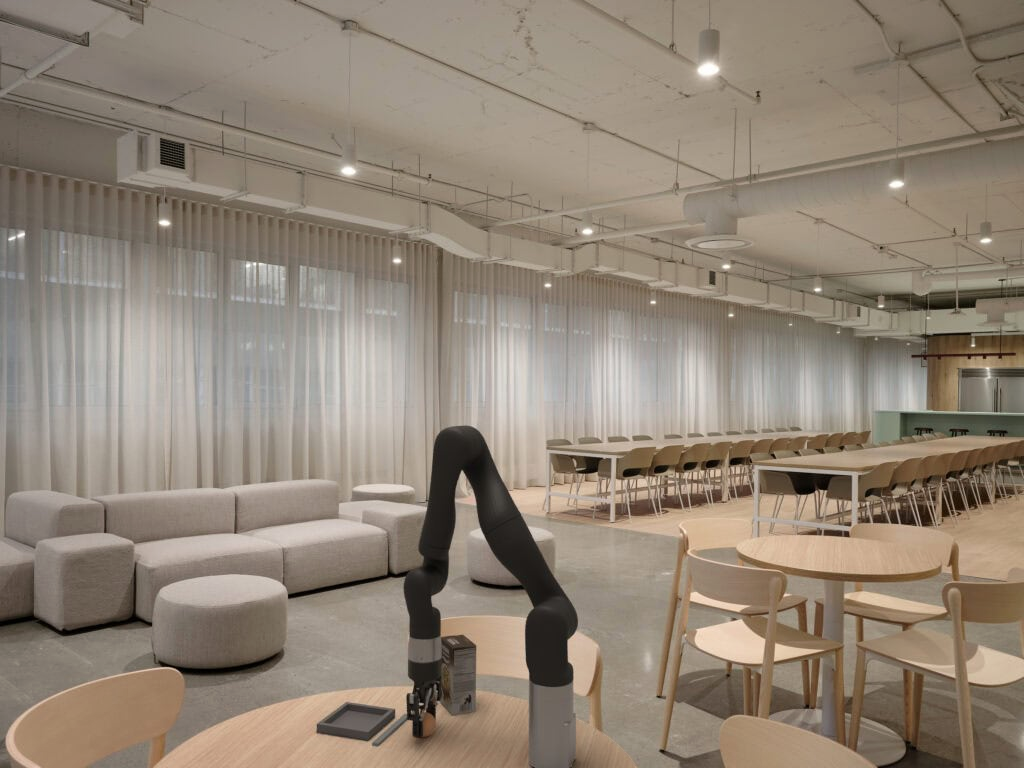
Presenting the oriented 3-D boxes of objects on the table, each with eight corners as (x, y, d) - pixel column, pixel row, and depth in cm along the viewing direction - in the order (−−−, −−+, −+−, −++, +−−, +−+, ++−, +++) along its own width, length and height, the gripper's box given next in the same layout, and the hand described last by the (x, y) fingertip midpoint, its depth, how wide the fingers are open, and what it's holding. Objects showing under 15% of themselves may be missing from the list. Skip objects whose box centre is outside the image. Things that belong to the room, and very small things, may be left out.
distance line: (410, 716, 182) (410, 714, 182) (378, 746, 167) (378, 743, 167) (404, 715, 182) (404, 713, 182) (372, 745, 167) (372, 742, 167)
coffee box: (438, 702, 191) (439, 636, 191) (462, 697, 193) (463, 633, 194) (451, 716, 182) (451, 647, 183) (476, 711, 185) (477, 644, 185)
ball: (439, 732, 174) (439, 710, 174) (430, 742, 169) (430, 719, 169) (419, 729, 175) (419, 707, 175) (409, 738, 170) (409, 716, 170)
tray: (395, 717, 181) (395, 709, 181) (368, 741, 169) (368, 732, 169) (346, 710, 185) (346, 701, 185) (316, 732, 173) (316, 723, 173)
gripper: (426, 668, 164) (426, 746, 164) (452, 646, 178) (452, 719, 178) (395, 664, 167) (394, 741, 166) (423, 643, 180) (422, 715, 180)
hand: (424, 730), depth 172 cm, fingers open, 6 cm apart
